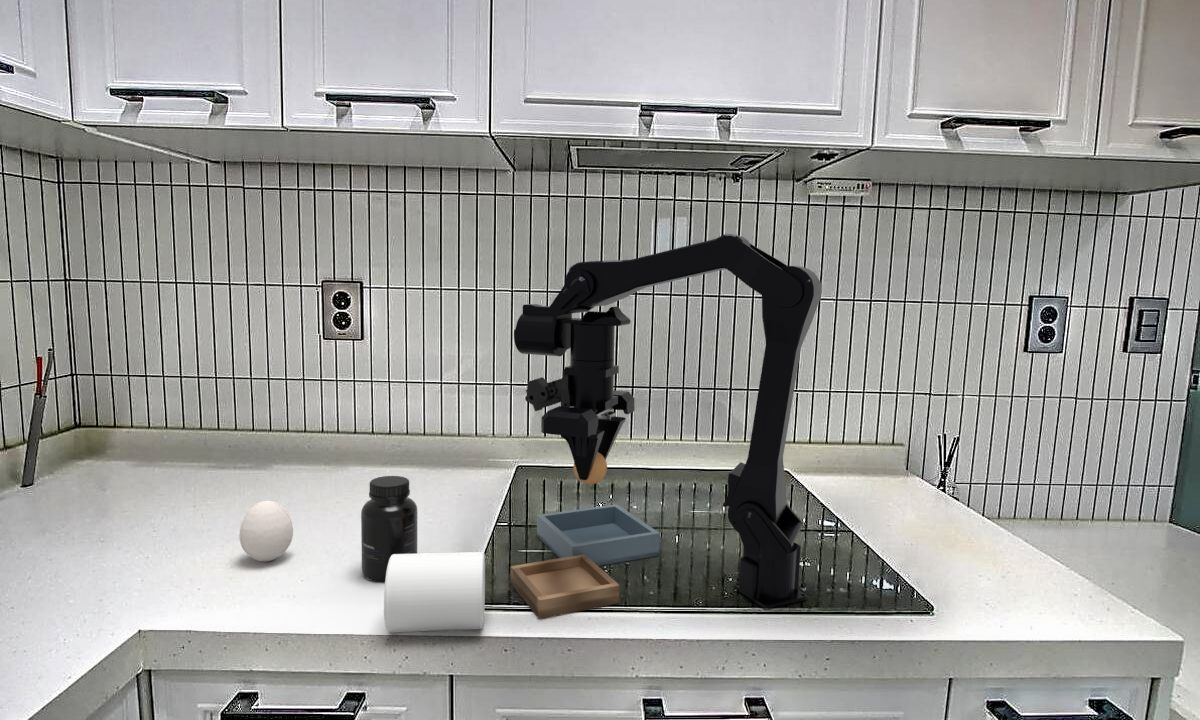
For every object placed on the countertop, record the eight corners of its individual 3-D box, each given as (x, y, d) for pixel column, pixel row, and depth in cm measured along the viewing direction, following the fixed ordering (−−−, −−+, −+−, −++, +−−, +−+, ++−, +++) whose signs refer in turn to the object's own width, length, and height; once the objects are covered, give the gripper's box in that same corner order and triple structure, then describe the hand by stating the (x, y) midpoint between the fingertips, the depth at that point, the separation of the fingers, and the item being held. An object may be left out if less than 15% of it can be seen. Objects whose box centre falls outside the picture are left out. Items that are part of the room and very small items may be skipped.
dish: (616, 524, 110) (617, 504, 110) (659, 555, 99) (659, 533, 98) (536, 536, 105) (537, 515, 104) (572, 570, 93) (572, 547, 93)
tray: (584, 570, 93) (584, 554, 93) (619, 603, 85) (619, 585, 84) (510, 583, 89) (510, 566, 89) (539, 619, 80) (539, 600, 80)
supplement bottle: (352, 581, 89) (349, 486, 87) (376, 559, 95) (374, 471, 94) (405, 585, 88) (404, 490, 86) (426, 563, 95) (425, 474, 93)
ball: (598, 477, 99) (599, 445, 99) (612, 486, 95) (613, 453, 95) (568, 480, 98) (568, 448, 97) (580, 490, 93) (581, 456, 93)
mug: (482, 642, 75) (482, 569, 74) (383, 647, 74) (382, 572, 73) (486, 591, 87) (486, 528, 86) (401, 594, 86) (400, 530, 85)
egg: (284, 546, 99) (282, 490, 98) (301, 561, 94) (299, 502, 93) (234, 558, 95) (231, 500, 94) (249, 574, 90) (247, 513, 89)
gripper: (564, 348, 106) (563, 452, 108) (503, 363, 88) (503, 486, 90) (636, 352, 102) (634, 460, 104) (587, 369, 84) (585, 497, 86)
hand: (590, 474), depth 96 cm, fingers closed on ball, 4 cm apart
